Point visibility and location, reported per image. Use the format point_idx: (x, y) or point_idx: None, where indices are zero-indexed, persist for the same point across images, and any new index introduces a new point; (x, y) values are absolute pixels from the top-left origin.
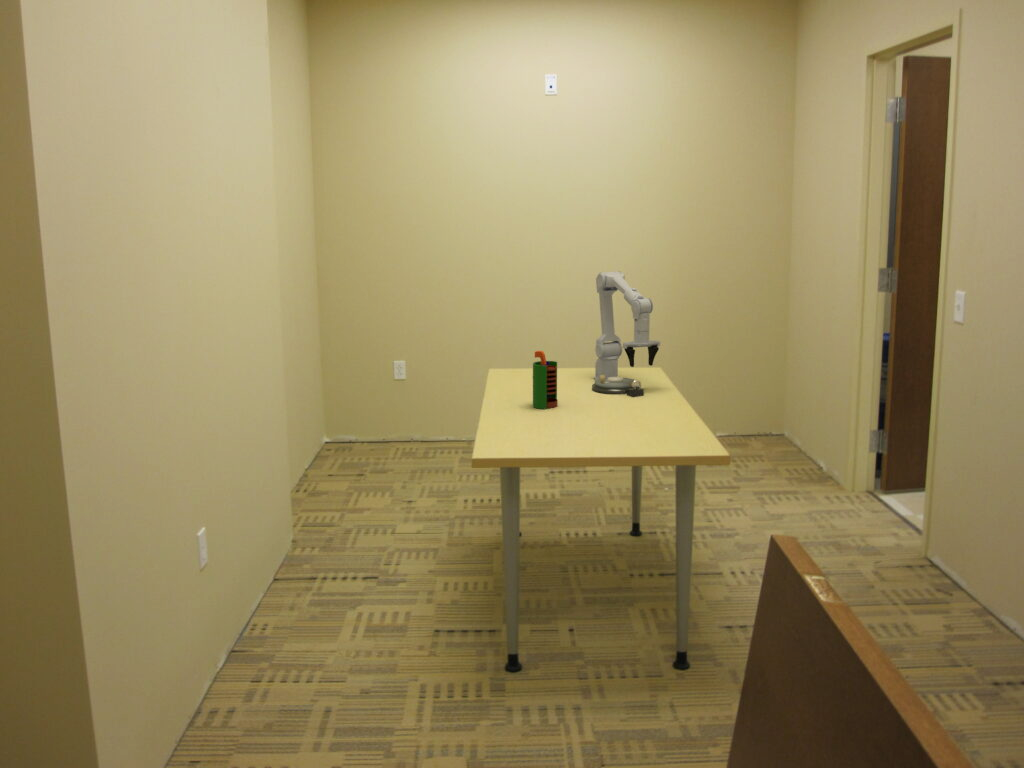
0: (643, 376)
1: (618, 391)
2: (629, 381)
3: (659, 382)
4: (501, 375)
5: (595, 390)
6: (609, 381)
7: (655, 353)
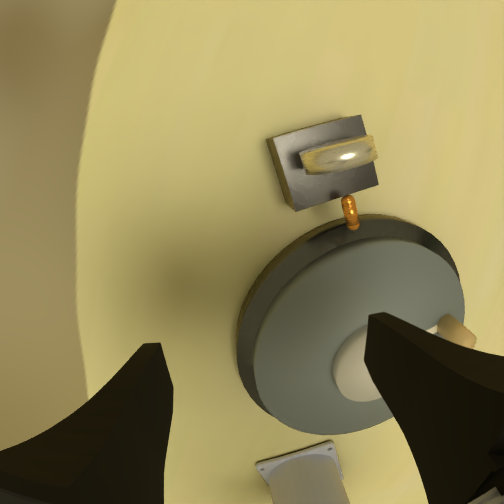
0: None
1: (399, 219)
2: (303, 342)
3: None
4: None
5: None
6: None
7: (61, 430)
